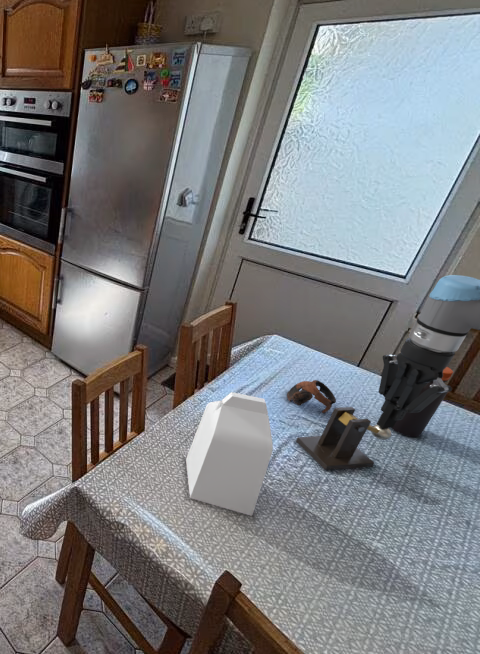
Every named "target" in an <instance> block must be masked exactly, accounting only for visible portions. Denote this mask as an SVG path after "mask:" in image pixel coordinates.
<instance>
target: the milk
mask: <svg viewBox="0 0 480 654" xmlns="http://www.w3.org/2000/svg"><path fill="white" fill-rule="evenodd" d="M265 399H266V398H262V397H259V396H258V397H257V396H253V395H247V394H243V393H238V392H233V391H231V392H230V393H229V394H227V395H226V396H225V397H224V398H223V399H221V400H217V401H210V402H208V403H207V404H206V406H205V408H204V411H203V414H202V416H201V419H200V422H199V424H198V426H197V428H196V432H195V435H194V437H193V440H192V442H191V446H190V448H189V451H188V453H187V455H186V458H185V462H186V473H187V481H188V492H189V498H190V499H191V500H196V501H198V502H202V503H205V504H209V505H213V506H216V507H219V508H223V509H227V510H230V511H233V512H237V513H241V514H244V515H247V516H251V517H253V514H254V512H255V508H256V506H257V502H258V499H259V497H260V496H259V495H260V492H261V489H262V487H263V483H264V480H265V476H266V474H267V471H268V468H269V464H270V461H271V457H272V455H273V451H274V450H273V448H274V445H273V437H272V430H271V422H270V417H269V411H268V407H267V402H266V400H265Z"/></svg>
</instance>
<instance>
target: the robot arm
mask: <svg viewBox="0 0 480 654" xmlns="http://www.w3.org/2000/svg"><path fill="white" fill-rule="evenodd" d="M471 329H474V330H477V331H480V279H479V278H476V277H472V276H467V275H459V274H450V275H445V276H442V277H441V278H440V279H439V280H438V281H437V283H436V284H435V286H434V287H433V289H432V291H431V292H430V293H429V295H428V296H427V299H426V301H425V303H424V305H423V306H422V309H421V311H420V312H419V315H418V317H417V319H416V320H415V322H414V324H413V326H412V328H411V330H410V332H409V333H408V337H407V338H406V339H405V341H404V342H403V344H402V346H401V347H400V352H399V353H397V354H383V356H382V360H383V368H382V373H381V376H380V377H381V378H380V382H379V387H378V394H379V395H382V396H383V397H384V402H383V404H382V405H381V408H380V411H381V415H380V416H379V418H378V420H377V422H376V425H379V426H380V427H381V428H389V429H391V428H393V427H394V425H395V423H396V421H397V420H402V419H403V417H404V416H405V414H406V412H407V413H415V412H420V411H422V410H423V409H424V408H425V407H427V406H428V405H429V404H430V403H431V402H433V401H434V400H435V399H436V398H437V397H439V396H440V395H441V394H442V393H446V392H448V393H449V392H451V391H452V390H453V388H452V386H451V385H447V384H446V383H445V384H446V385H445V384H444V382H443V381H442V377H443V370H444V369H445V368H446V367H448V366H449V365H450V363H451V362H452V360H453V358H454V357H455V355H456V352H457V351H458V350H459V349H460V347H461V345H462V344H463V342H464V340H465V338H466V337H467V335H468V333H469V331H471ZM432 381H433V384H431V385H430V388H429V389H427V390H426V391H424V392H423V393H422V394H421V395H420V396H419V397H418V395H419V393H420V392H421V390H422V388H423V387H424V386H426V385H427V383H429V382H432ZM397 401H398V402H397ZM396 402H397V403H396Z"/></svg>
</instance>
